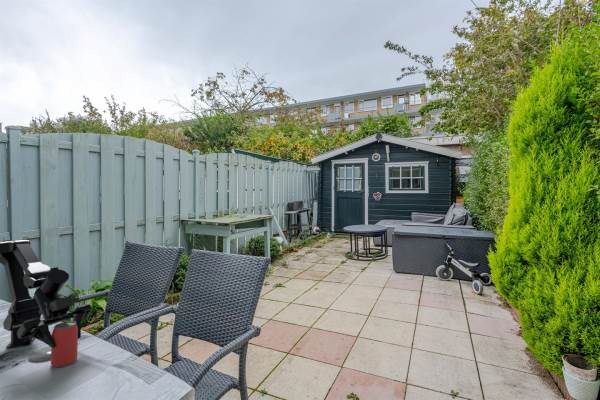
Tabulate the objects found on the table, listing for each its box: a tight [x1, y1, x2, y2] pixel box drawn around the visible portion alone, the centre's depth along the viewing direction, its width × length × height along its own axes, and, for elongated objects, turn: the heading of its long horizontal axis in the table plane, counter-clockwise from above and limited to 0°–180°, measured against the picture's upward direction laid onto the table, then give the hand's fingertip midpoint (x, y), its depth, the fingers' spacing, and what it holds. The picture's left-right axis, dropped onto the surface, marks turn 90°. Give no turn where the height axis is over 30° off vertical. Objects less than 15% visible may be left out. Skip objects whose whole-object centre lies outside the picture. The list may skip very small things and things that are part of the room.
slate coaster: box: [28, 345, 51, 363], centre depth 99 cm, size 10×10×1 cm
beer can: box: [50, 320, 79, 368], centre depth 94 cm, size 7×7×12 cm
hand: (67, 342), depth 93 cm, fingers closed on beer can, 7 cm apart
